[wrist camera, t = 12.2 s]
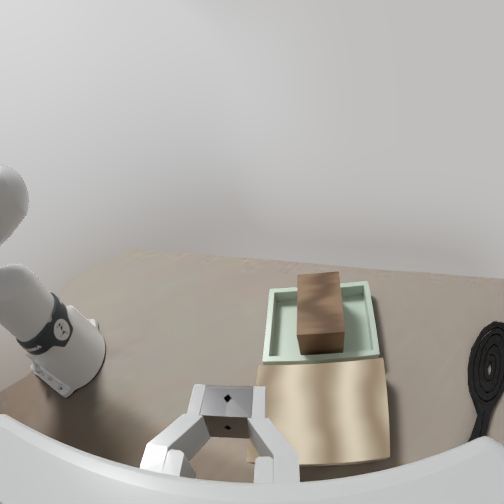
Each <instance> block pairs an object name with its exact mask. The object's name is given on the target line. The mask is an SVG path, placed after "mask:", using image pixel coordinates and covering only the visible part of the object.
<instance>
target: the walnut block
mask: <svg viewBox="0 0 504 504" xmlns="http://www.w3.org/2000/svg"><path fill="white" fill-rule="evenodd" d="M296 335H297V340H298V345H299V350H300V354H301V355H318V354H333V353H343V350H344V337H345V327H344V316H343V306H342V296H341V287H340V279H339V272H328V273H316V274H305V275H298V284H297V334H296Z"/></svg>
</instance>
